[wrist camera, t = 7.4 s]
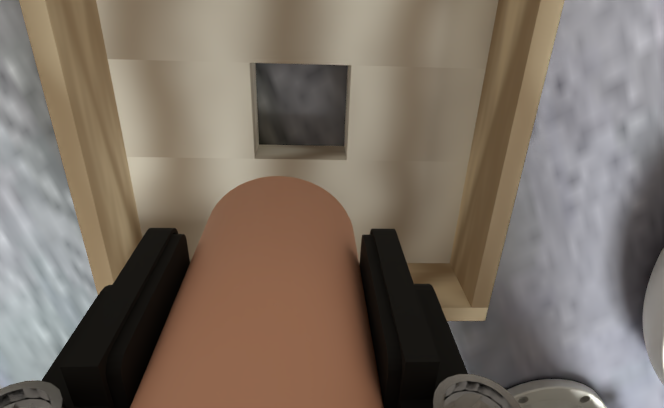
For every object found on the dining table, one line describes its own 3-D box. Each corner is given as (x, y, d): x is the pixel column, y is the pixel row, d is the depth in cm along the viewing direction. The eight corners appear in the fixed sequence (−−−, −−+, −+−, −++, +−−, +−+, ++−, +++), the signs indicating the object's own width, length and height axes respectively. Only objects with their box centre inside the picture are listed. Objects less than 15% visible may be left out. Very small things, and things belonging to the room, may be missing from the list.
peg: (359, 176, 11) (566, 1029, 2) (350, 301, 13) (442, 1032, 4) (197, 175, 11) (-333, 1117, 2) (212, 301, 13) (-18, 1076, 4)
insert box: (519, -109, 22) (600, -145, 16) (451, 254, 32) (484, 320, 26) (73, -130, 21) (-29, -176, 15) (147, 253, 31) (105, 322, 25)
